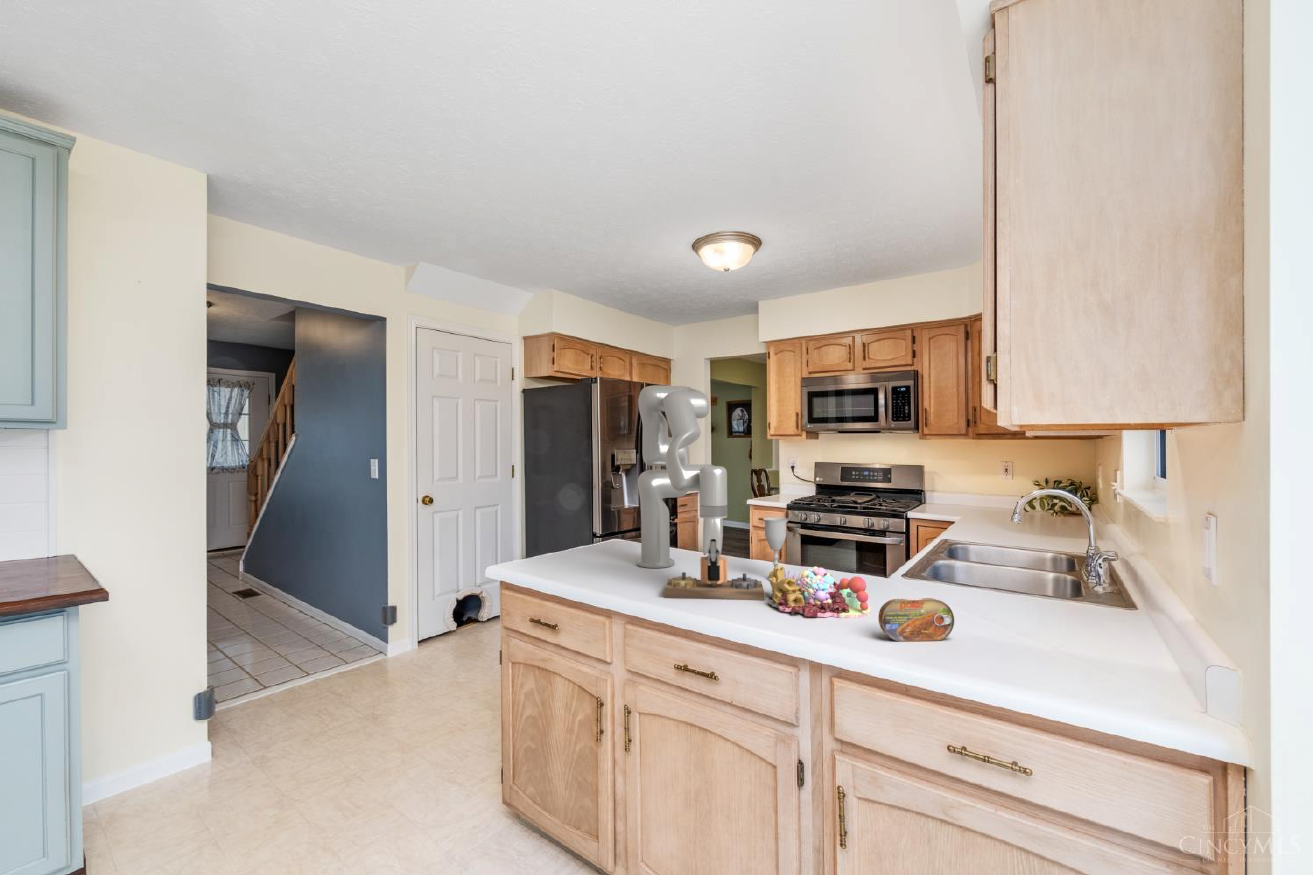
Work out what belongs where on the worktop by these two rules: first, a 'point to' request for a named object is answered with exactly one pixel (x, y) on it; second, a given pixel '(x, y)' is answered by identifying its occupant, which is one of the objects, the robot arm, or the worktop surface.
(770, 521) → the chalice
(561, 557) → the worktop surface
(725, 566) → the gear
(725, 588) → the gear board
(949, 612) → the tin
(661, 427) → the robot arm
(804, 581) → the coral reef model
